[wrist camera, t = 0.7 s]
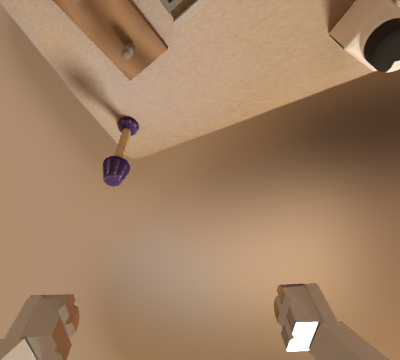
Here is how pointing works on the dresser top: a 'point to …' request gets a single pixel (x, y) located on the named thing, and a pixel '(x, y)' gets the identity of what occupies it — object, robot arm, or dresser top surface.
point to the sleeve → (170, 4)
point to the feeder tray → (188, 12)
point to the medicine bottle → (371, 34)
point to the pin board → (117, 32)
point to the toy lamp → (119, 154)
